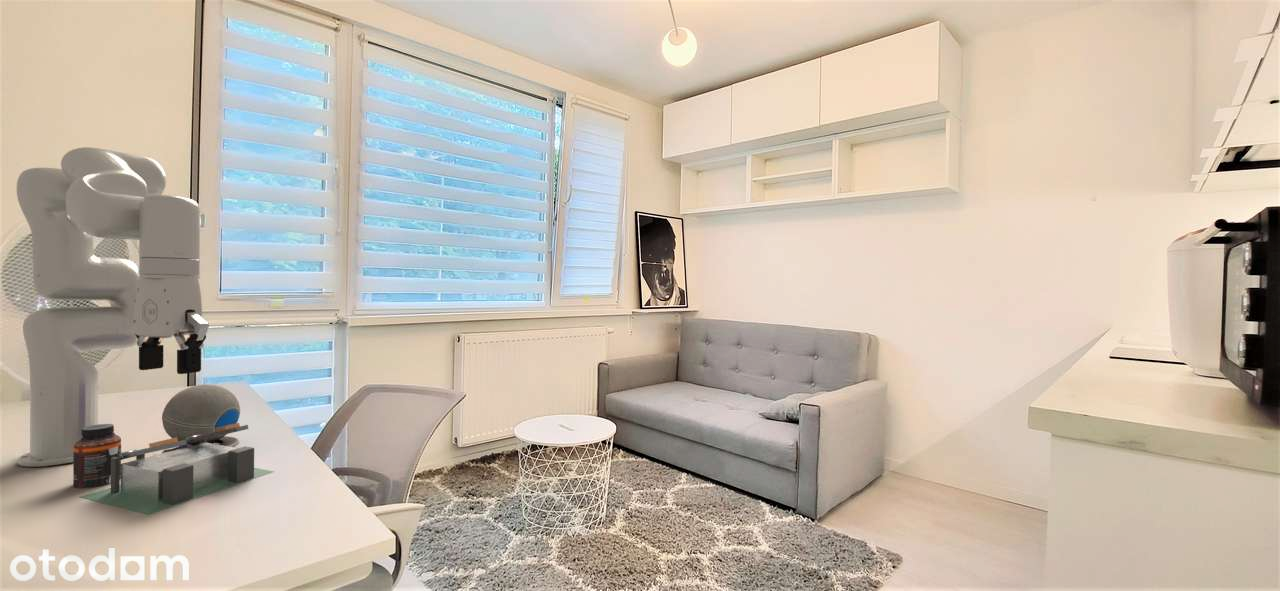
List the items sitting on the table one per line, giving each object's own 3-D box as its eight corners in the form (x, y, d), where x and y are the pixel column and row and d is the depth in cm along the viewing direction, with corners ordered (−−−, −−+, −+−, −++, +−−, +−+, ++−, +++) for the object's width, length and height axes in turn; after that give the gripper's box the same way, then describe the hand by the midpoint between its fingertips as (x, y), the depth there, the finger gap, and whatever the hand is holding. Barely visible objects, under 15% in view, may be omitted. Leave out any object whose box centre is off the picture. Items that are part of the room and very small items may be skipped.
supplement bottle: (127, 485, 94) (128, 424, 93) (81, 497, 88) (82, 432, 88) (112, 479, 96) (112, 420, 96) (66, 491, 91) (67, 428, 91)
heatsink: (120, 492, 88) (120, 463, 88) (205, 467, 100) (205, 442, 100) (158, 501, 85) (158, 471, 85) (240, 474, 97) (241, 448, 97)
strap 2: (184, 444, 98) (183, 435, 98) (198, 440, 100) (197, 432, 100) (236, 433, 94) (234, 423, 94) (249, 429, 96) (248, 420, 96)
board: (78, 503, 86) (79, 461, 86) (211, 465, 105) (211, 430, 105) (147, 521, 80) (148, 476, 80) (274, 477, 99) (274, 440, 99)
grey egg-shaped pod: (200, 442, 119) (201, 378, 119) (254, 444, 118) (255, 380, 118) (145, 461, 106) (145, 390, 106) (204, 464, 106) (205, 392, 105)
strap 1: (117, 460, 88) (116, 451, 89) (135, 456, 91) (133, 446, 91) (171, 449, 84) (169, 439, 84) (188, 445, 86) (186, 435, 86)
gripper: (109, 268, 85) (109, 370, 85) (178, 269, 80) (178, 378, 80) (163, 270, 92) (162, 364, 93) (230, 270, 87) (229, 371, 87)
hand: (169, 370), depth 86 cm, fingers open, 9 cm apart
